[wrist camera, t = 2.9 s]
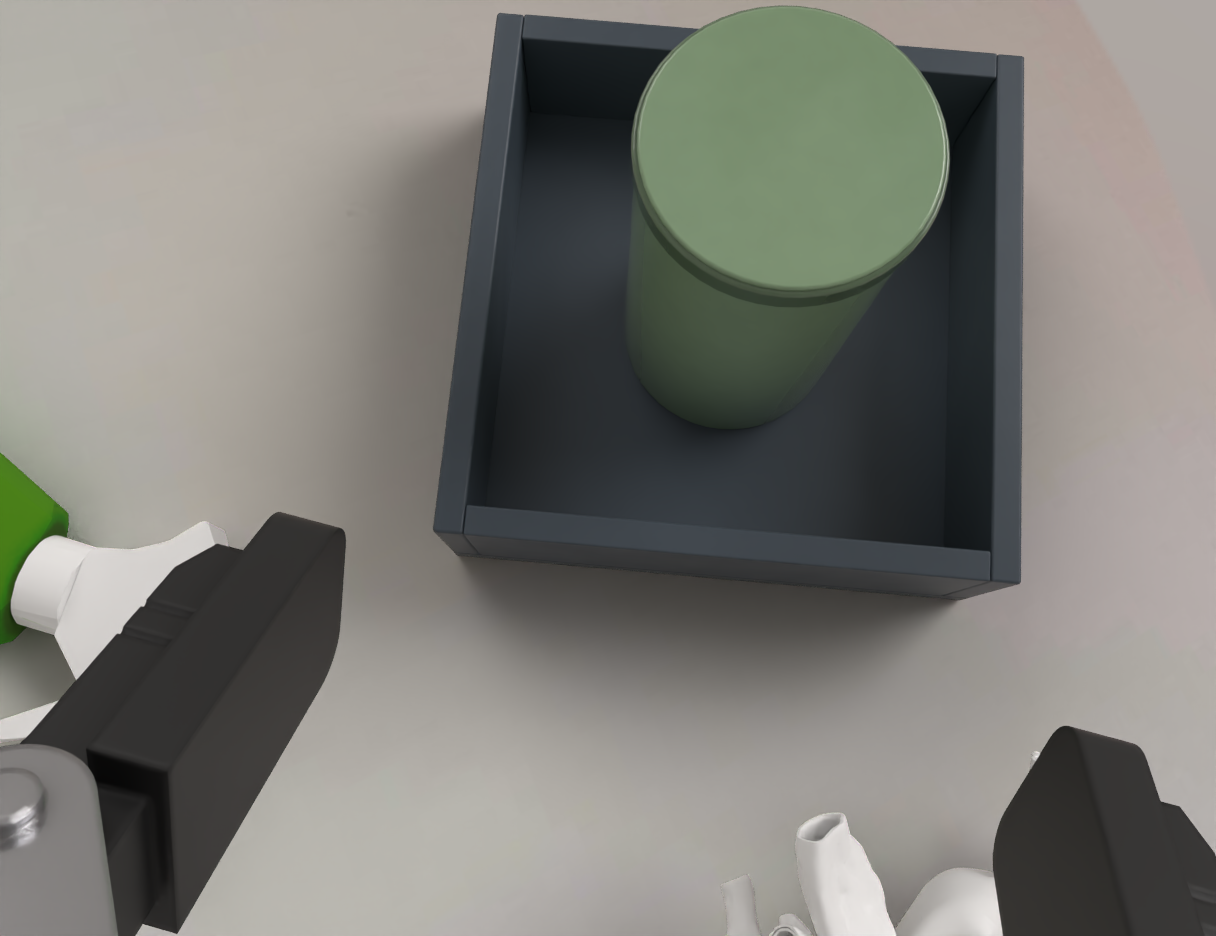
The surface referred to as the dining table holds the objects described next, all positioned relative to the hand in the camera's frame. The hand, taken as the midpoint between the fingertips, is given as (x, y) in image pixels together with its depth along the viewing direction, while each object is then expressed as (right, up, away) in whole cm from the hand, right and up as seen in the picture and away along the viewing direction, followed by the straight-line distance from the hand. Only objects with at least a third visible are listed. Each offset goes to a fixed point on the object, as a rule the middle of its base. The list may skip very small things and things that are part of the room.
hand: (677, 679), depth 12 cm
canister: (+2, +6, +17) cm, 18 cm away
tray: (+2, +6, +18) cm, 19 cm away
